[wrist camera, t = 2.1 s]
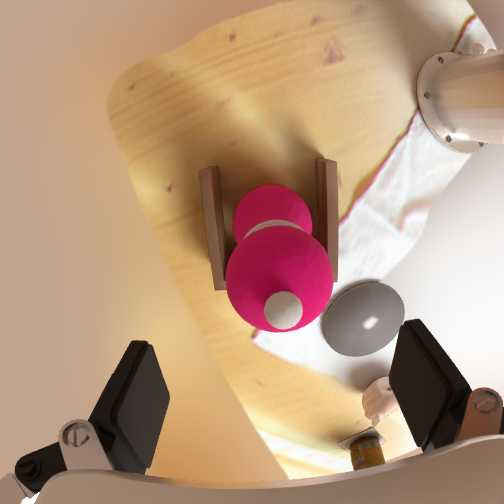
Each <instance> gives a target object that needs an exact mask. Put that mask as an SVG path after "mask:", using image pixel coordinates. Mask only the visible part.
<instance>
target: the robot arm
mask: <svg viewBox="0 0 504 504" xmlns="http://www.w3.org/2000/svg"><path fill="white" fill-rule="evenodd" d="M472 51H473V52H472V54H469V55H466V56H462V55H460V54H456V53H453V52H443V53H439V54H436V55H434V56H432V57H430V58H429V59H428V60H427V61H426V62H425V63H424V65H423V66H422V68H421V70H420V72H419V76H418V81H417V96H418V103H419V106H420V110H421V113H422V116H423V118H424V120H425V123H426V124H427V126H428V128H429V129H430V131H431V132H432V134H433V135H434V136H435V137H436V139H437V140H438V141H440V142H441V143H442V144H443V145H444V146H446V147H447V148H449V149H450V150H453V151H456V152H459V153H465V154H470V153H475V152H479V151H480V150H482V149H483V148H485V147H486V145H487V144H488V143H494V144H502V145H504V49H501V50H497V51H496V50H494V49H488V51H487V53H485V54H483V52H484V47H483V46H482V45H481V44H479V43H475V44H474V47H473V50H472ZM424 96H425V97H424ZM389 384H390V387H391V389H392V391H393V393H394V395H395V397H396V400H397V402H398V404H399V406H400V408H401V411H402V413H403V415H404V417H405V420H406V422H407V424H408V427H409V429H410V431H411V434H412V436H413V438H414V441H415V443H416V445H417V446H418V447H421V448H422V451H423V453H422V454H419V455H416V456H412V457H409V458H405V459H402V460H398V461H395V462H391V463H387V464H383V465H379V466H375V467H370V468H366V469H361V470H356V471H351V472H345V473H339V474H333V475H327V476H320V477H312V478H304V479H293V480H282V481H263V482H214V481H213V482H212V481H196V480H183V479H173V478H163V477H156V476H148V475H145V471H146V468H150V466H151V463H152V460H153V456H154V453H155V449H156V446H157V442H158V439H159V435H160V432H161V428H162V425H163V421H164V418H165V415H166V411H167V408H168V404H169V401H170V395H169V391H168V389H167V386H166V383H165V380H164V378H163V375H162V372H161V369H160V367H159V363H158V360H157V357H156V354H155V352H154V348H153V346H152V345H151V344H148V342H147V341H137V340H134V341H131V343H130V344H129V346H128V348H127V350H126V351H125V353H124V355H123V357H122V359H121V361H120V363H119V364H118V366H117V368H116V370H115V371H114V373H113V374H112V376H111V377H110V379H109V381H108V383H107V385H106V387H105V388H104V390H103V392H102V394H101V396H100V398H99V400H98V402H97V404H96V406H95V408H94V409H93V411H92V413H91V415H90V418H89V419H88V421H86V420H81V419H77V420H72V421H70V422H68V423H66V424H65V425H64V426H63V427H62V428H61V430H60V432H59V435H58V439H59V441H58V442H57V443H54V444H51V445H49V446H47V447H44V448H42V449H39V450H37V451H34V452H32V453H30V454H27V455H25V456H23V457H21V458H20V459H19V460H18V461H17V463H16V465H15V474H11V473H9V474H7V475H6V476H5V477H3V478H2V479H1V480H0V504H504V407H503V401H502V398H501V396H500V395H499V394H498V393H497V392H496V391H494V390H493V389H490V388H478V389H476V390H474V391H472V389H471V388H470V386H469V384H468V383H467V381H466V380H465V378H464V377H463V376H462V374H461V373H460V371H459V370H458V368H457V367H456V366H455V364H454V363H453V362H452V360H451V359H450V357H449V356H448V355H447V353H446V352H445V351H444V349H443V348H442V347H441V346H440V344H439V343H438V342H437V340H436V339H435V338H434V337H433V335H432V334H431V332H430V331H429V330H428V329H427V327H426V326H425V325H424V324H423V323H422V321H421V320H420V319H414V320H408V321H405V322H404V324H403V325H401V326H400V329H399V334H398V339H397V344H396V348H395V353H394V357H393V361H392V365H391V369H390V373H389ZM135 473H137V474H135ZM141 474H143V475H141Z"/></svg>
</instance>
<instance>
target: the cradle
mask: <svg viewBox="0 0 504 504" xmlns="http://www.w3.org/2000/svg"><path fill="white" fill-rule="evenodd" d="M316 176H317V200H318V238H319V243H320V244H321V245H322V246H323V248H324V249H325V251H326V253H327V255H328V257H329V259H330V261H331V265H332V270H333V282H337V278H338V179H337V162H336V161H332V160H329V159H316ZM199 178H200V186H201V194H202V203H203V210H204V218H205V226H206V233H207V241H208V248H209V255H210V262H211V269H212V275H213V282H214V288H215V290H227V289H226V269H227V265H228V261H229V259H228V251H227V242H226V234H225V225H224V217H223V208H222V199H221V190H220V180H219V171H218V166H212V167H207V168H205V169H203V170H201V171H199Z"/></svg>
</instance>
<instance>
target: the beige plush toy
mask: <svg viewBox="0 0 504 504" xmlns="http://www.w3.org/2000/svg"><path fill="white" fill-rule="evenodd" d="M362 405H363V408H364V411H365V416H366V417H367V418H368V419H370V420H373V422H372V426H373V425H374V427H375V426H376V425H377V424H378V422H379V420H380V419H381V418H383V417H386V416H388V415H389V414H391V413H393V412H394V411H396V410H397V409H398V408H399V407H400V406H399V404H398V402H397V400H396V397H395V395H394V393H393V391H392V389H391V387H390V384H389V377H382V378H379V379H377V380H375V381H374V382H373V383H372V384H371V385H370V386H369V387H368V388H367V389H366V390H365V392H364V394H363V397H362Z"/></svg>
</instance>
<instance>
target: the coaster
mask: <svg viewBox="0 0 504 504" xmlns="http://www.w3.org/2000/svg"><path fill="white" fill-rule="evenodd" d="M404 314H405V313H404V304H403V301H402V299H401V297H400V296H399V295H398V294H397V292H396V291H395V290H394V289H393V288H391V287H389V286H387V285H385V284H382V283H375V282H372V283H363V284H360V285H357V286H354V287H352V288H350V289H348V290H346V291H345V292H344V293H342V294H341V295H340V296H339V297H337V298H336V300H335V301H334V302H333V303H332V304H331V306H330V307H329V309H328V311H327V313H326V315H325V319H324V325H323V328H324V335H325V338H326V340H327V342H328V344H329V345H330V347H331V348H332V349H333V350H335V351H336V352H338V353H340V354H342V355H346V356H354V357H357V356H364V355H368V354H371V353H374V352H376V351H378V350H380V349H382V348H383V347H385V346H386V345H387V344H388V343H389V342H391V341H392V340H393V338H394V337H395V336H396V335H397V333H398V332H399V329H400V326H401V325H402V323H403V320H404Z"/></svg>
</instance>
